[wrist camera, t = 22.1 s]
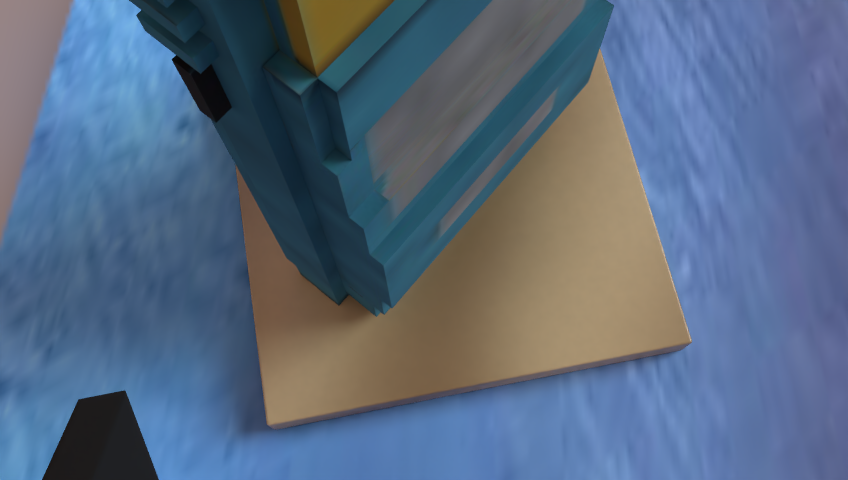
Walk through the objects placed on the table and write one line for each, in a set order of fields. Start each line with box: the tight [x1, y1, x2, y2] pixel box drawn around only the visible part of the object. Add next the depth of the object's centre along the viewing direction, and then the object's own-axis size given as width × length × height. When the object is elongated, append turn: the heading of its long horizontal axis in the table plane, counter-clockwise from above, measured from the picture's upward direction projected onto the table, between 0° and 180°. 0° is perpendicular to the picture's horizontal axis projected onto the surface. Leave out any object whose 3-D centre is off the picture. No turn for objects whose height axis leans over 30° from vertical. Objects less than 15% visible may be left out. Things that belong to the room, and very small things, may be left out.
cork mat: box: [235, 49, 692, 430], centre depth 25 cm, size 12×12×1 cm
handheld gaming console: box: [129, 0, 614, 317], centre depth 17 cm, size 10×4×15 cm, turn 140°
